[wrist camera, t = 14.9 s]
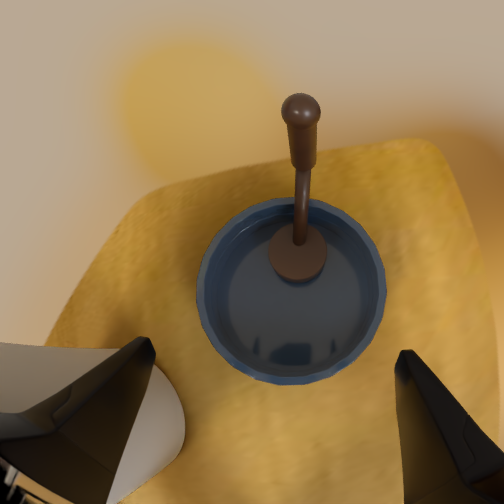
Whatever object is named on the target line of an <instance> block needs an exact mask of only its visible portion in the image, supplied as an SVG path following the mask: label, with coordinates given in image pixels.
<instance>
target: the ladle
mask: <svg viewBox="0 0 504 504" xmlns="http://www.w3.org/2000/svg"><path fill="white" fill-rule="evenodd" d="M281 113H282V118H283V119H284V121H285V123H286V124H287V130H288V137H289V146H290V154H291V163H292V165H293V166H294V167H295V168H296V175H295V201H294V222H293V223H291V224H288V225H285V226H283V227H282V228H280V229H279V230H278V231H277V232H276V233H275V234H274V235H273V237H272V238H271V240H270V243H269V247H268V256H269V260H270V263H271V265H272V267H273V269H274V270H275V272H276V273H277V274H278V275H279V276H280V277H281V278H283V279H284V280H286V281H289V282H293V283H303V282H307V281H309V280H311V279H313V278H315V277H316V276H317V275H318V274H319V273H320V272H321V270H322V269H323V267H324V264H325V261H326V257H327V245H326V242H325V239H324V237H323V236H322V234H321V233H320V232H319V231H318V230H317V229H316V228H314V227H312V226H310V225H308V224H307V221H308V208H309V195H310V179H311V169H312V168H313V167H314V166H315V164H316V145H317V122H318V121H319V118H320V113H321V111H320V106H319V104H318V103H317V101H316V100H315V99H314V98H313V97H311V96H310V95H307V94H304V93H297V94H293V95H291V96H289V97H288V98H287V99H286V100H285V101H284V103H283V105H282V108H281Z"/></svg>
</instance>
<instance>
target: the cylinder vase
mask: <svg viewBox="0 0 504 504" xmlns="http://www.w3.org/2000/svg"><path fill="white" fill-rule="evenodd" d="M118 350H120V349H107V348H66V347H47V346H32V345H21V344H11V343H0V412H1V413H19V412H23V411H25V410H27V409H29V408H31V407H33V406H34V405H36V404H38V403H40V402H42V401H43V400H45V399H47V398H49V397H50V396H52V395H54V394H56V393H57V392H59V391H60V390H62V389H63V388H65V387H66V386H68V385H69V384H72V382H74V381H75V380H76V379H78V378H79V377H81V376H82V375H84V374H85V373H87V372H88V371H89V370H91V369H92V368H94V367H95V366H97V365H98V364H100V363H101V362H103V361H104V360H105V359H107V358H108V357H110V356H111V355H113V354H114V353H116V352H117V351H118ZM184 437H185V418H184V412H183V408H182V405H181V402H180V399H179V397H178V395H177V393H176V391H175V389H174V387H173V386H172V384H171V383H170V381H169V380H168V378H167V377H166V376H165V375H164V374H163V372H162V371H161V370H160V369H159V368H158V367H157V366H155V365H153V369H152V373H151V376H150V380H149V384H148V387H147V391H146V393H145V396H144V399H143V401H142V404H141V407H140V409H139V412H138V414H137V417H136V420H135V422H134V425H133V428H132V430H131V433H130V436H129V439H128V441H127V444H126V447H125V450H124V452H123V455H122V458H121V461H120V464H119V467H118V470H117V472H116V475H115V479H114V482H113V485H112V488H111V491H110V494H109V497H108V500H107V503H106V504H116V503H118V502H119V501H121V500H122V499H124V498H125V497H126V496H128V495H129V494H131V493H132V492H133V491H135V490H136V489H138V488H139V487H140V486H142V485H143V484H144V483H146V482H147V481H148V480H150V479H151V478H152V477H154V476H155V475H156V474H157V473H159V472H160V471H161V470H163V469H164V468H165V467H166V466H168V465H169V464H170V463H171V462H172V461H173V460H174V459H175V458H176V457H177V455H178V454H179V452H180V450H181V448H182V445H183V442H184Z"/></svg>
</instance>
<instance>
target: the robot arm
mask: <svg viewBox="0 0 504 504" xmlns="http://www.w3.org/2000/svg"><path fill="white" fill-rule="evenodd" d="M155 358H156V353H155V350H154V347H153V345H152V343H151V340H150V339H149V338H147V337H141V336H140V337H137V338H136V339H134V340H133V341H131V342H130V343H129V344H127V345H126V346H124V347H123V348H121V349H120V350H118V351H117V352H116V353H114V354H113V355H111V356H110V357H108V358H107V359H105V360H104V361H103V362H101V363H100V364H98V365H97V366H95V367H94V368H92V369H91V370H89V371H88V372H87V373H85V374H84V375H82V376H81V377H79V378H78V379H76V380H75V381H74V382H72V384H69V385H68V386H66V387H65V388H63V389H62V390H60V391H59V392H57V393H56V394H54V395H52V396H50V397H49V398H47V399H45V400H43V401H42V402H40V403H38V404H36V405H34V406H33V407H31V408H29V409H27V410H25V411H23V412H19V413H1V412H0V504H106V503H107V500H108V497H109V494H110V491H111V488H112V485H113V482H114V479H115V475H116V472H117V470H118V467H119V464H120V461H121V458H122V455H123V452H124V450H125V447H126V444H127V441H128V439H129V436H130V433H131V430H132V428H133V425H134V422H135V420H136V417H137V414H138V412H139V409H140V407H141V404H142V401H143V399H144V396H145V393H146V391H147V387H148V384H149V380H150V376H151V373H152V369H153V365H154V362H155ZM394 371H395V391H396V412H397V419H398V427H399V436H400V445H401V456H402V468H403V485H404V504H504V452H503V451H502V450H501V449H500V448H499V447H498V446H497V445H496V444H495V443H494V442H493V441H492V440H491V439H490V438H489V437H488V436H487V435H486V434H485V433H484V432H483V431H482V430H481V429H480V427H479V426H478V425H477V424H476V423H475V422H474V420H473V419H472V418H471V417H470V415H468V413H467V412H466V411H465V409H464V408H463V407H462V406H461V405H460V403H459V402H458V401H457V400H456V399H455V397H454V396H453V395H452V394H451V393H450V392H449V390H448V389H447V388H446V387H445V386H444V384H443V383H442V382H441V381H440V380H439V379H438V378H437V376H436V375H435V374H434V373H433V372H432V371H431V370H430V368H429V367H428V366H427V365H426V364H425V363H424V362H423V361H422V359H421V358H420V357H419V356H418V355H417V354H416V353H415V352H414V351H413V350H412V349H408V350H402V351H401V352H400V354H399V357H398V359H397V362H396V364H395V370H394Z"/></svg>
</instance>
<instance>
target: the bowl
mask: <svg viewBox="0 0 504 504" xmlns="http://www.w3.org/2000/svg"><path fill="white" fill-rule="evenodd" d="M294 201H295V197H288V198H275V199H271V200H268V201H265V202H262V203H259V204H256V205H253V206H250V207H249V208H247V209H246V210H244V211H242V212H241V213H239V214H238V215H236V216H234V217H233V218H232V219H231V220H230V221H229V222H228V223H227V224H226V225H225V226H224V227H223V228H222V229H221V230H220V231H219V232H218V233H217V234H216V236H215V237H214V238H213V240H212V242H211V244H210V245H209V247H208V249H207V250H206V252H205V254H204V256H203V259H202V262H201V266H200V270H199V273H198V277H197V291H196V303H197V308H198V312H199V316H200V320H201V324H202V326H203V329H204V331H205V333H206V334H207V336H208V338H209V340H210V342H211V343H212V345H213V347H214V348H215V350H216V351H217V352H218V353H219V354H220V355H221V356H222V357H223V358H224V359H225V360H226V361H227V362H228V363H229V364H230V365H231V366H233V367H234V368H236V369H237V370H239V371H241V372H243V373H244V374H246V375H248V376H250V377H251V378H254V379H256V380H260V381H264V382H268V383H272V384H276V385H305V384H310V383H313V382H316V381H319V380H322V379H326V378H329V377H331V376H333V375H335V374H336V373H338V372H339V371H341V370H342V369H344V368H346V367H347V366H349V365H350V364H352V363H353V362H354V361H355V360H356V359H357V358H358V357H359V356H360V355H361V353H362V352H363V351H364V350H365V349H366V348H367V346H368V345H369V344H370V343H371V341H372V339H373V337H374V335H375V333H376V331H377V329H378V327H379V325H380V323H381V320H382V318H383V313H384V307H385V301H386V295H387V288H386V278H385V269H384V266H383V263H382V261H381V258H380V255H379V253H378V250H377V248H376V246H375V244H374V242H373V241H372V240H371V238H370V237H369V235H368V234H367V233H366V231H365V230H364V229H363V227H362V226H361V225H360V224H359V223H358V222H356V221H355V220H354V219H353V218H351V217H350V216H349V215H348V214H346V213H345V212H344V211H342V210H340V209H338V208H336V207H334V206H331V205H329V204H327V203H325V202H322V201H319V200H313V199H309V208H308V221H307V224H308V225H310V226H312V227H314V228H316V229H317V230H318V231H319V232H320V233H321V234H322V236H323V237H324V239H325V242H326V245H327V257H326V261H325V264H324V267H323V269H322V270H321V272H320V273H319V274H318V275H317V276H316V277H315V278H313V279H311V280H309V281H307V282H303V283H293V282H289V281H286V280H284V279H283V278H281V277H280V276H279V275H278V274H277V273H276V272H275V270H274V269H273V267H272V265H271V263H270V260H269V256H268V247H269V243H270V240H271V238H272V237H273V235H274V234H275V233H276V232H277V231H278V230H279V229H280V228H282V227H283V226H285V225H288V224H291V223H293V222H294Z"/></svg>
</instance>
